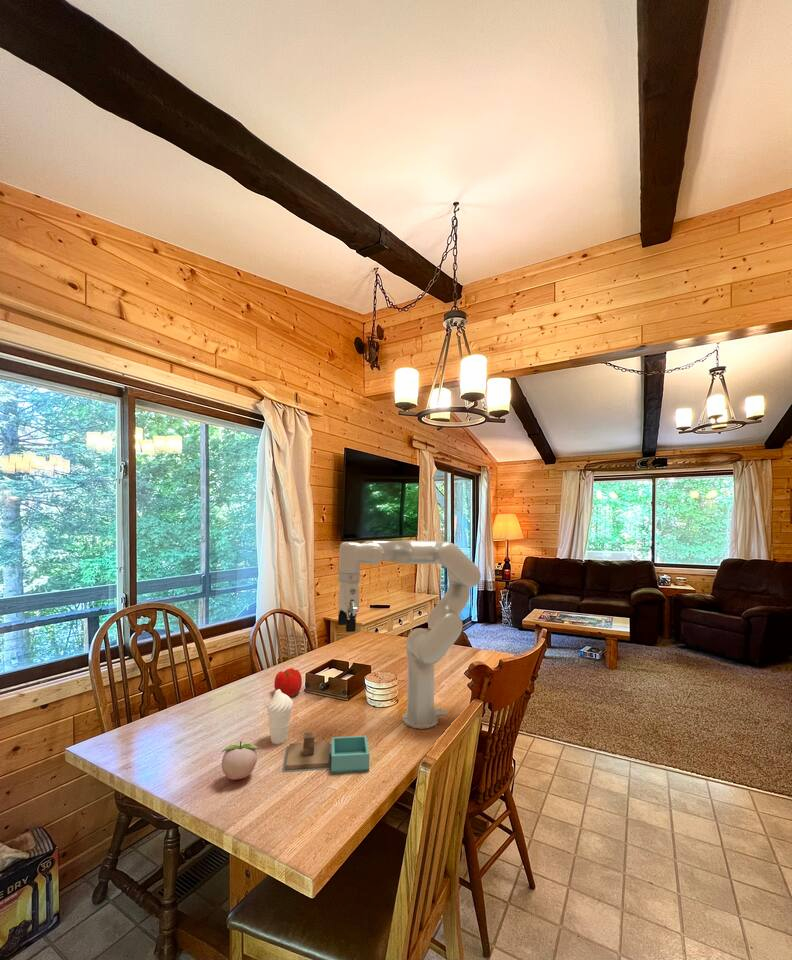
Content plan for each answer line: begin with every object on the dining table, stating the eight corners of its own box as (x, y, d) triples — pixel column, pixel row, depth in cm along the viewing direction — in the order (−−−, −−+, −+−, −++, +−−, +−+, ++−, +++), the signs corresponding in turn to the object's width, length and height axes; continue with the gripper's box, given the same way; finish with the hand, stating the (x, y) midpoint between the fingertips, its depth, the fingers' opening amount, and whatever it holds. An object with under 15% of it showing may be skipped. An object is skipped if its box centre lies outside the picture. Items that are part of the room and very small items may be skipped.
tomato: (287, 686, 183) (288, 664, 184) (307, 693, 176) (308, 670, 177) (267, 694, 175) (268, 671, 176) (286, 702, 168) (287, 678, 169)
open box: (366, 752, 133) (366, 735, 133) (369, 772, 122) (369, 754, 123) (331, 754, 131) (331, 737, 132) (331, 775, 121) (331, 756, 121)
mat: (332, 745, 137) (332, 743, 137) (332, 770, 123) (332, 768, 123) (286, 747, 135) (286, 746, 135) (281, 773, 121) (281, 772, 121)
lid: (329, 745, 136) (329, 724, 136) (328, 767, 124) (329, 744, 124) (289, 747, 134) (290, 726, 135) (285, 770, 122) (286, 746, 123)
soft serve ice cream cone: (296, 737, 141) (298, 686, 142) (282, 750, 133) (284, 696, 134) (274, 733, 144) (276, 683, 145) (259, 745, 136) (261, 692, 137)
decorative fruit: (220, 793, 112) (222, 753, 113) (219, 776, 119) (221, 738, 120) (258, 785, 116) (260, 746, 116) (255, 769, 123) (257, 732, 124)
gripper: (367, 581, 145) (364, 633, 143) (352, 574, 161) (349, 621, 159) (345, 581, 142) (342, 635, 140) (332, 574, 158) (329, 622, 156)
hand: (346, 628), depth 150 cm, fingers open, 9 cm apart
